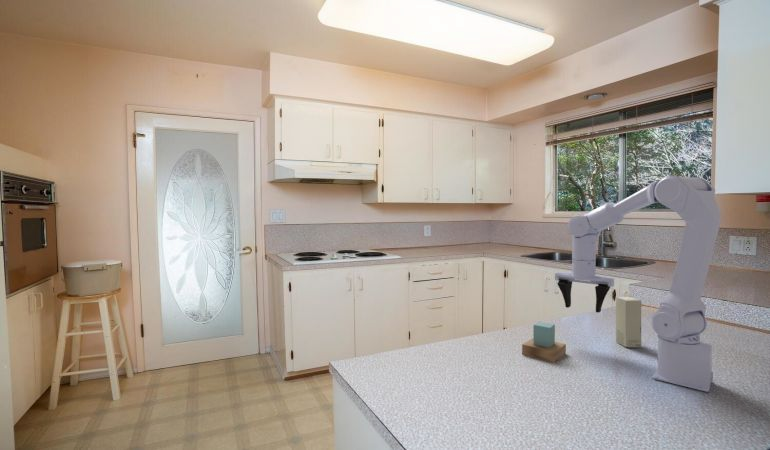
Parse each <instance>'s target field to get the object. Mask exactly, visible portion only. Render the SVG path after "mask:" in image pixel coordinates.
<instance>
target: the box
mask: <svg viewBox="0 0 770 450" xmlns="http://www.w3.org/2000/svg"><path fill="white" fill-rule="evenodd" d="M615 343H617V344H619V345H621V346H623V347H625V348H642V300H641V299H638V298H636V297H635V298H634V297H631V296H616V297H615Z"/></svg>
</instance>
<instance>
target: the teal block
mask: <svg viewBox="0 0 770 450" xmlns="http://www.w3.org/2000/svg"><path fill="white" fill-rule="evenodd" d="M555 326H556V323H555V324H554V323H549V322H544V321H537V322H536V323H534V324H533V334H532V335H533V336H532V337H533V338H532V339H533V344H535V345H540V346H544V347H549V348H550V347H551V346H552V345H554V344H555V342H556V338H555V337H556V336H555V334H556V327H555Z"/></svg>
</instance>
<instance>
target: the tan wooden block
mask: <svg viewBox="0 0 770 450" xmlns="http://www.w3.org/2000/svg"><path fill="white" fill-rule="evenodd" d="M521 345H522V346H521V354H522V355H523V356H527V357H531V358H536V359H538V360H542V361H546V362H551V363H554V364H555V362H557V361H558V360H560V359H561V358H562V357H564V356H565V355H566V354H567V352H566V351H567V344H566V343H563V342H558V341H555V344H554V345H552V346H551V347H550V348H549V347H544V346H540V345H535V344H533V338H531V339H529V340H527V341H525V342H524V343H522V344H521Z"/></svg>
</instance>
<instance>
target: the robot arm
mask: <svg viewBox="0 0 770 450" xmlns="http://www.w3.org/2000/svg"><path fill="white" fill-rule="evenodd" d="M715 193H716V189H715V187H714V186H712V184H710V183H709V182H708V181H707V180H705V179H704V178H702V177H697V176H695V177H687V176H686V177H684V176H677V175H668V176H663V177H662V178H660V180H655V181H652V182H651V183H650V184H647V186H645V187H643V188H642V189H640V190H638V191H636V192H635V193H633V194H631V195H630V196H628V197H625V198H624V199H622V200H620V201H619V202H617V203H614V202H611V201H610V202H607V201H606V202H605V201H603V202H601V203H599V206H598V207H597V208H595V209H593V210H587V211H585V214H583V215H578V214H577V215H573V217H571V218H570V219H569V221H568V224H567V230H568V232H569V234H570V235H571V236H572V247H571V249H572V251H571V252H572V253H571V261H572V262H571V273H567V272H566V273H565V272H555V273H554V280H555V281H558V282H557V283H556V284H557V287H558V288H559V290H560V292H561V295H562V296H563V301H564V305H565V308H567V309H568V308H571V306H572V287H573V282H574V283H583V284H590V285H596V286H595V287H594V289H595V290H594V291H595V299H596V300H595V313H600V312H601V311H602V308H603V307H602V306H603V303H604V301H605V298H606V296H607V295H608V292H609V291H610V289H611V287H612V288H613V287H615V278H612V277H606V276H598V275H596V267H597V266H596V265H597V264H596V263H597V262H596V261H597V258H596V257H597V256H596V255H597V254H596V253H597V250H596V249H597V242H598V237H599V235H600V233H601V232H602V231H604V230H607V229H608V228H610V227H612V226H615V225H617V224H620V223H621V222H622V221H623V219H624V216H625V215H628V214H630V213H633V212H635V211H638V210H640V209H643V208H645V207H648V206H650V205H652V204H656V203H657V204H658V203H660V204H662V205H663V206H665V207H667V208H668V209H670V210H672V211H674V212H675V213H676V214H677V215H678V216H679V217H680V218H681V219H682V220H683V222H685V225H684V231H683V234H682V239H681V243H680V247H679V251H678V255H677V259H676V263H675V269H674V270H673V271H674V272H673V276H672V280H671V285H670V287H669V288H670V289H669V291H668V292H669V293H667V295H666V296H665V297H664V298H663V299H662V300H661V302H660V303H659V307H658V309H657V310H656V311H655V312H654V313H653V314H652V317H651V321H650V323H651V326H652V329H653V330H654V332H655V333H656V334H657V339H658V340H657V367H656V369H655V371H654V373H653V374H652V379H653V380H658V381H662V382H666V383H669V384H673V385H677V386H682V387H686V388H689V389H694V390H699V391H702V392H705V393H708V392H710V389H711V385H712V384H711V383H712V382H713V381H714V372H713V369H712V368H713V345H712V344H709V343H704V342H702V341H701V334H702V333H704V332H705V331H706V329H707V326H708V320H707V318H706V309H707V305H706V304H705V303H704V302H703V300H702V295H703V291H704V288H705V284H706V280H707V276H708V272H709V269H710V264H711V260H712V257H713V253H714V250H715V246H716V241H717V237H718V233H719V230H720V227H721V223H722V214H721V211H720V208H719V206H718V203H717V200H716V197H715Z"/></svg>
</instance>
